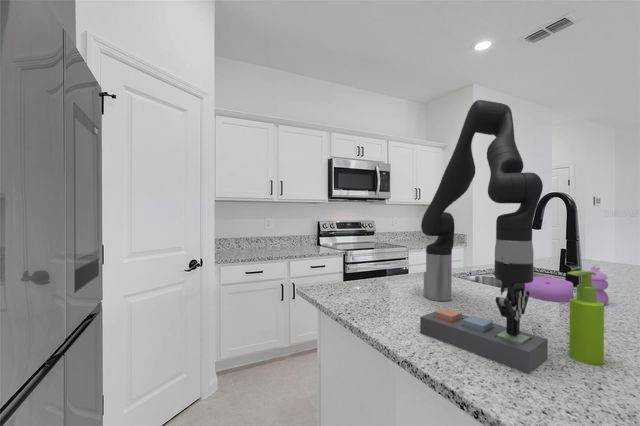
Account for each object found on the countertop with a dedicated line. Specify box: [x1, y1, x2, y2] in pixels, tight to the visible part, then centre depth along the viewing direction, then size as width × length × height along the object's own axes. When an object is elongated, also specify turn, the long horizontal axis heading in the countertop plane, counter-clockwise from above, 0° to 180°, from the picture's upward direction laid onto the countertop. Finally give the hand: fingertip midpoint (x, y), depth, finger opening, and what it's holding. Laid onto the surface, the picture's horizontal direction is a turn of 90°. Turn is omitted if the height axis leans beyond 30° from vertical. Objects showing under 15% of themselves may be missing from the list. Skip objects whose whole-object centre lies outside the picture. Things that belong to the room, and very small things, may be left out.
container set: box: [525, 266, 609, 306], centre depth 116 cm, size 25×15×13 cm, turn 50°
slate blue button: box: [463, 315, 494, 333], centre depth 76 cm, size 5×5×3 cm
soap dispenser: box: [566, 270, 605, 366], centre depth 69 cm, size 6×7×20 cm
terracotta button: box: [434, 307, 463, 323], centre depth 82 cm, size 5×5×3 cm
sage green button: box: [497, 330, 530, 345], centre depth 70 cm, size 5×5×3 cm
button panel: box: [419, 311, 549, 375], centre depth 76 cm, size 26×11×4 cm, turn 37°
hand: (512, 334), depth 70 cm, fingers closed
